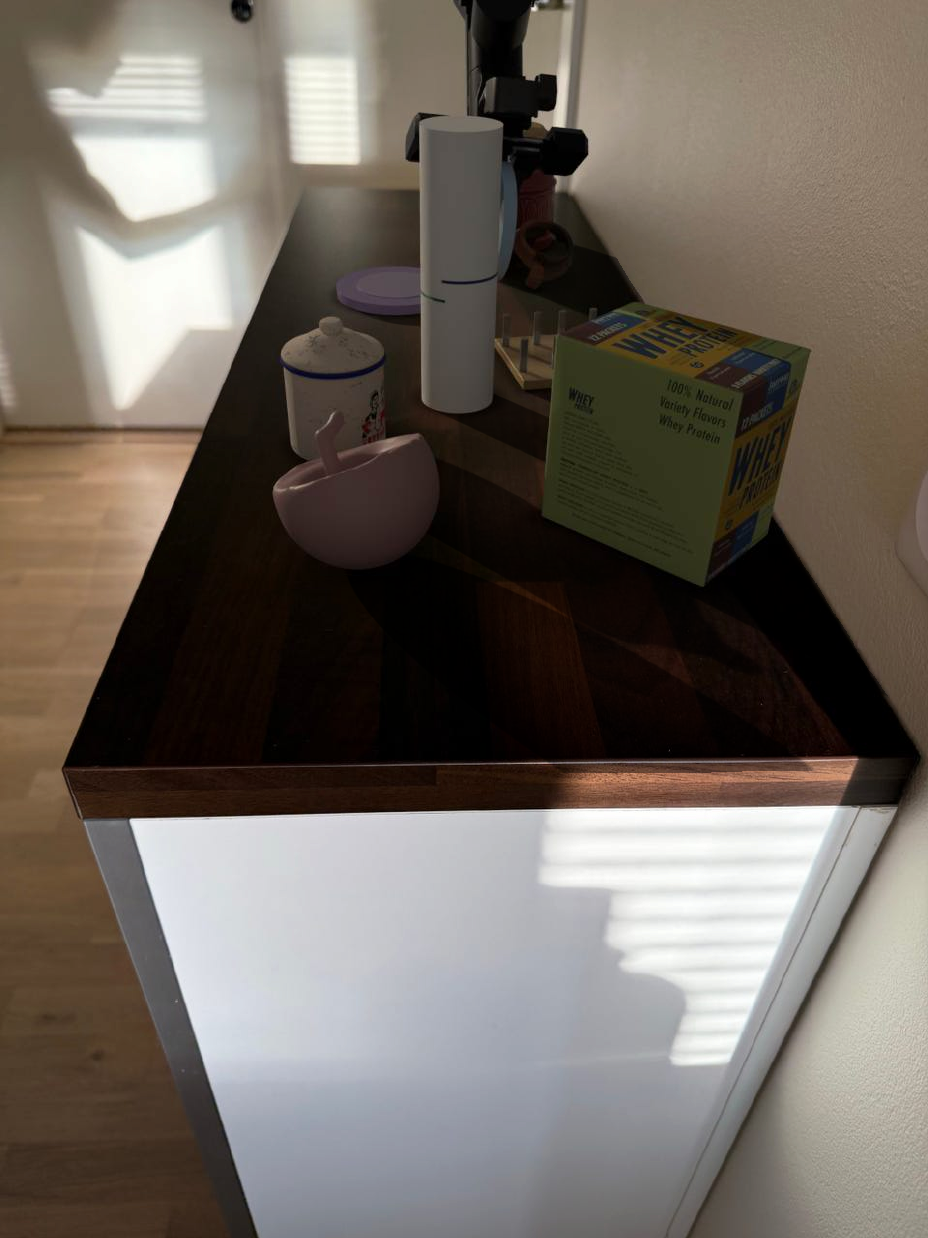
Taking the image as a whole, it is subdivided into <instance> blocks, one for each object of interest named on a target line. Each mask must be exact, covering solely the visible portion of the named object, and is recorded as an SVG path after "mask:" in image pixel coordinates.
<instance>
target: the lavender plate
mask: <svg viewBox="0 0 928 1238" xmlns="http://www.w3.org/2000/svg"><path fill="white" fill-rule="evenodd" d="M335 290H336V291H335V292H336V298H337V300H338V301H339V302H340V303H341V304H342V305H344V306H345V307H346V308H347V307H348V308H349V309H352V310H354V311H358V312H363V313H367V314H372V315H373V314H374V315H381V316H411V315H421V267H414V266H403V265H402V266H400V265H399V266H398V265H397V266H378V267H370V268H365V269H360V270H357V271H353V272H351V273H348V274H346V275H344V276H343V277H341V278H340V279H338V281H337V282H336V285H335Z"/></svg>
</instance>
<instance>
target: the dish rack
mask: <svg viewBox="0 0 928 1238" xmlns="http://www.w3.org/2000/svg"><path fill="white" fill-rule="evenodd" d="M567 315H568V313H567V310H565V309H561V310H559V312H558V323H557V333H555V334H554V333H553V334H541V333H542V318H543V312H542V311H535V312H534V315H533V318H534V319H533V331H532V335H525V336H511V319H512V318H511V316H512V315H511V313H507V312H506V313H503V314H502V334H501V335H502V336H501V337H497V338H496V337H495V350H496V351H497V353H498V354H499V356H500V357H501V359H502V360H503V362H504V363H505V365H506V366H507V367H508V370H509V371H510V372H511V375H513V377H514V378H515V380H516V381H517V383H518V385H520V387H521V389H522V390H523V391H527V390H542V389H552V381H553V368H554V358H555V346H556V336H557V335H558V334H559V333H562V332H564V331H566V327H567V326H566V324H567ZM597 317H598V308H596V307H591V308H589V314H588V321H590V320H593V319H595V318H597ZM510 336H511V337H510Z"/></svg>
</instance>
